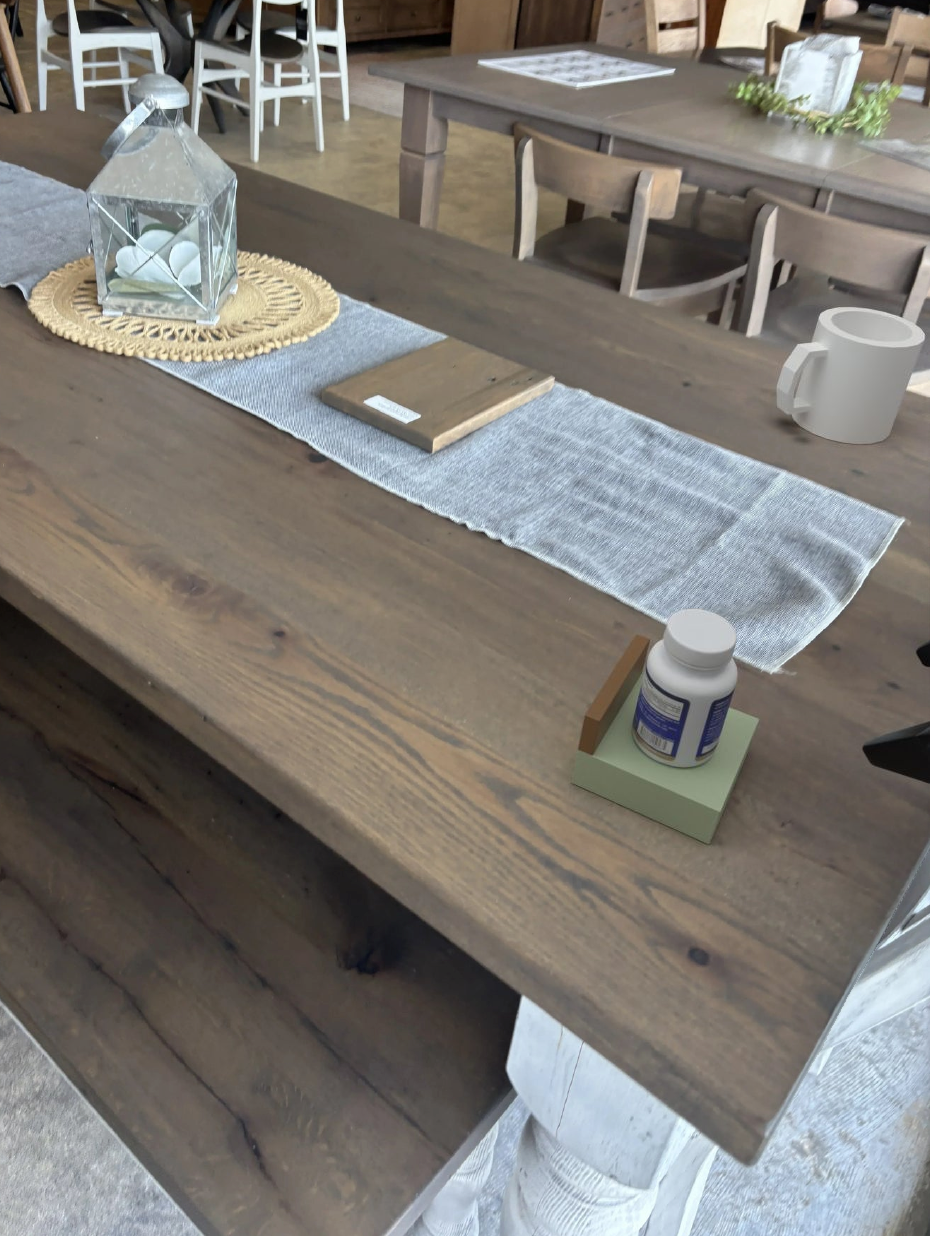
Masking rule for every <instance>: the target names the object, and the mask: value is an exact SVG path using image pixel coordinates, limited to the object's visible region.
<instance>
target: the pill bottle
mask: <svg viewBox="0 0 930 1236" xmlns="http://www.w3.org/2000/svg"><path fill="white" fill-rule="evenodd" d="M737 640H738V635H737V632H736V629H735V627H734V626H733V625H732V624H731V622H729V621H728V620H727V619H726V618H724V617H723V616H721V615H719V614H718V613H715V612H712V611H709V610H706V609H701V608H700V609H699V608H686V609H681V610H678V611H676V612H674V613H673V614H672V615H671V616H670V617H669V618H668V620H667V623H666V627H665V629H664V632H663V638H662V639H660V640H658V642H656V643H655V644H654V645H653V646H652V647H651V649H650V651H649V653H648V656H647V658H646V663H645V666H644V671H643V674H644V675H643V679H642V684H641V688H640V692H639V697H638V701H637V705H636V710H635V714H634V718H633V723H632V733H633V737H634V739H635V741H636V743H637V745H638V746H639V747H640V749H641V750H642V751H643V752H644V753H646V754H647V755H648V756H650V757H651V758H653V759H654V760H656V761H658V762H661V763H663V764H667V765H670V766H675V767H693V766H697V765H700V764H702V763H704V762H706V761H707V760H708V759H710V758H711V757H712V755H713V754H714V752H715V750H716V747H717V745H718V742H719V738H720V735H721V732H722V729H723V725H724V722H725V719H726V716H727V712H728V709H729V707H730V706H731V703H732V699H733V696H734V693H735V690H736V687H737V686H736V685H737V682H738V676H739V674H738V667H737V664H736V662H735V660H734V658H733V655H734V652H735V648H736V645H737Z"/></svg>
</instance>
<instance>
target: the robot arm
mask: <svg viewBox="0 0 930 1236" xmlns="http://www.w3.org/2000/svg"><path fill="white" fill-rule="evenodd" d="M915 654H916V656H917V658H918V660H919V661H920V663H921V665H922V666H924V667H926V668H930V639H929V640H927V641H925V642H924V643H922V644H920V645H918V646H917V648H916V650H915ZM861 750H862V752H863V754H864V756H865V758H866V759H867V761H868V762H869V764H870V765H871V766H874V767H876V768H879V769H883V770H885V771H888V772H892V773H895V774H898V775H900V776H904V777H907V778H910V779H913V780H915V781H919V782H922V783H926V784H929V785H930V720H928V721H925V722H922V723H919V724H915V725H912V726H909V727H906V728H903V729H902V728H901V729H898V730H896V731H892V732H889V733H886V734H884V735H881V736H878V737H875V738H873V739H869V740H868V741H865V742H864V743H863V745H862V747H861Z"/></svg>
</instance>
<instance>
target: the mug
mask: <svg viewBox="0 0 930 1236" xmlns="http://www.w3.org/2000/svg"><path fill="white" fill-rule="evenodd" d="M925 339H926V334H925V333H924V331H923V330H922V328H921V327H920V326H918V325H916V324H915V323H914V322H912V321H910V320H908V319H907V318H906V319H905V318H903V317H901V316H900V315H899V316H898V315H896V314H893V313H889V312H886V311H881V310H876V309H873V308H872V309H871V308H864V307H856V306H855V307H854V306H843V307H842V306H840V307H838V306H837V307H833V308H829V309H826V310H824V311H822V312H820V314H819V316H818V319H817V322H816V326H815V329H814V332H813V335H812V339H811V342H805V343H797V345H796V346H795V347H794V349H793V350H792V352H791V353H790V355H789V356H788V358H787V359H786V360H785V362H784V363H783V365H782V367H781V371H780V374H779V377H778V381H777V383H776V407H777V408H778V409H779V410H781V411H782V412H783V413H785V414H786V415H791V418H792V420H793V421H794V422H795V423H796V424H797V425H798V426H799V427H800V428H802V429H804V430H805V431H807V432H809V433H810V434H813V435H815V436H818V437H821V438H823V439H826V440H830V441H834V442H838V443H842V444H851V445H873V444H876V443H880V442H883V441H884V440H887V438H888V437H889V436H890V434H891V432H892V429H893V426H894V424H895V421H896V419H897V415H898V414H899V413H898V412H899V410H900V407H901V404H902V402H903V399H904V396H905V394H906V391H907V388H908V386H909V383H910V380H911V378H912V375H913V373H914V370H915V366H916V364H917V361H918V359H919V356H920V353H921V350H922V348H923V345H924V343H925ZM800 375H801V376H800ZM798 382H799V384H798ZM797 385H798V386H797ZM795 391H796V393H795Z"/></svg>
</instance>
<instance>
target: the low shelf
mask: <svg viewBox="0 0 930 1236" xmlns="http://www.w3.org/2000/svg"><path fill="white" fill-rule="evenodd" d="M650 644H651V639H650V638H648V637H646V636H643V635H640V634H638V633H636V634H635V635H634V637H633V638H632V640H631V641H630V643H629V645H628V646H627V648H626V649H625V651H624V653H623V654H622V655H621V657H620V659H619V660H618V662H617V663H616V665H615V666H614V668H613V669H612V672H611V673H610V675H609V676H608V678H607V679H606V680H605V682H604V684H603V685H602V687H601V689H600V690H599V691H598V693H597V695H596V696H595V698H594V700H593V701H592V703H591V704H590V706H589V707H588V709H587V711H586V713H584V717H583V721H582V727H581V732H580V736H579V741H578V746H577V751H576V756H575V760H574V765H573V769H572V775H571V780H570V783H571V784H573V785H575V786H578V787H579V788H582V789H583V790H587V791H588V792H591V793H593V794H595V795H597V796H599V797H602V798H603V799H606V800H608V801H610V802H613V803H615V804H616V805H617V804H618V805H619V806H622V807H625V808H626V809H628V810H630V811H633V812H635V813H638V814H640V815H642V816H644V817H646V818H649V819H650V820H653V821H655V822H658V823H660V824H662V825H664V826H666V827H669V828H671V829H673V830H675V831H678V832H680V833H682V834H683V835H686V836H688V837H691V838H693V839H695V840H697V841H699V842H701V843H704V844H706V845H710V844H711V842H712V840H713V837H714V835H715V832H716V830H717V827H718V825H719V823H720V821H721V818H722V816H723V813H724V811H725V808H726V806H727V804H728V802H729V799H730V796H731V794H732V792H733V790H734V787H735V785H736V783H737V780H738V778H739V775H740V773H741V770H742V768H743V765H744V764H745V761H746V758H747V756H748V753H749V751H750V748H751V745H752V743H753V740H754V736H755V734H756V731H757V728H758V726H759V723H760V718H758V717H756V716H752V715H750V714H747V713H745V712H743V711H740V710H737V709H735V708H732V707H730V706H729V709H728V712H727V716H726V719H725V722H724V725H723V729H722V732H721V735H720V738H719V742H718V745H717V747H716V750H715V752H714V754H713V755H712V757H711V758H710V759H708V760H707V761H706V762H704V763H702V764H700V765H697V766H693V767H675V766H670V765H667V764H663V763H661V762H658V761H656V760H654V759H653V758H651V757H650V756H648V755H647V754H646V753H644V752H643V751H642V750H641V749H640V747H639V746H638V745H637V743H636V741H635V739H634V737H633V733H632V723H633V718H634V714H635V710H636V705H637V701H638V697H639V692H640V688H641V684H642V679H643V675H644V671H643V670H644V668H645V664H646V663H645V662H646V660H647V655H648V650H649V646H650Z"/></svg>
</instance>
